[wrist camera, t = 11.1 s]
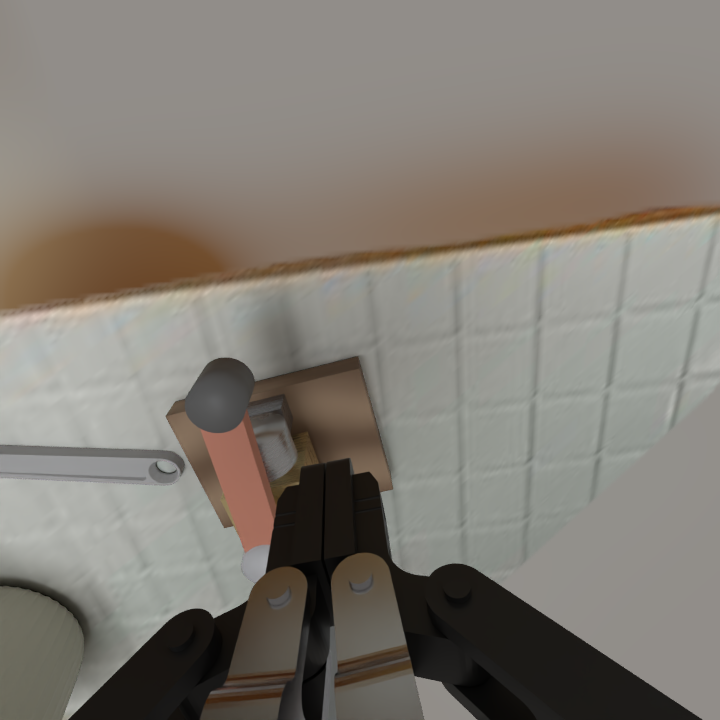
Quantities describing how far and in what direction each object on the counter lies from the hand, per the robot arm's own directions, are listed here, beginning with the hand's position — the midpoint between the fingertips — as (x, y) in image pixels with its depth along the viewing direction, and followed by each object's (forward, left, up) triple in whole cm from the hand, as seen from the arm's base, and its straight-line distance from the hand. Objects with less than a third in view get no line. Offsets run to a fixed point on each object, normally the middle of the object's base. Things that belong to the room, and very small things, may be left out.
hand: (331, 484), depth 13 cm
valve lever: (-5, +6, -9) cm, 12 cm away
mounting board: (-10, +6, -18) cm, 21 cm away
